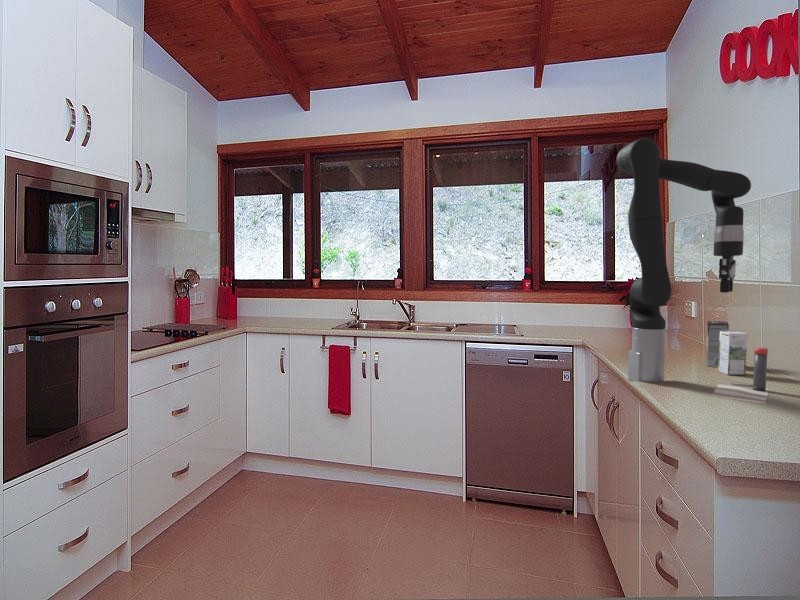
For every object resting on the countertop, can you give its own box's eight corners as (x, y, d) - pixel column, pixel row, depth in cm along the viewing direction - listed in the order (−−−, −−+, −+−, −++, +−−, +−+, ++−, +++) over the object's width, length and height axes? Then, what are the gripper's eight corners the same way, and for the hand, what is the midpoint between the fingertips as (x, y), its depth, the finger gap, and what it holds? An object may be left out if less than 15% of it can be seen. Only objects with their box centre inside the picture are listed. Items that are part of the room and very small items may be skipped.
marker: (759, 391, 127) (760, 349, 127) (749, 388, 130) (751, 347, 130) (768, 391, 128) (770, 349, 127) (759, 388, 131) (761, 347, 130)
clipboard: (771, 409, 114) (771, 403, 114) (705, 399, 123) (705, 394, 123) (774, 391, 131) (774, 386, 131) (715, 384, 140) (715, 379, 140)
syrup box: (734, 371, 157) (736, 330, 156) (746, 375, 151) (747, 332, 150) (717, 371, 158) (719, 330, 157) (727, 375, 152) (729, 332, 151)
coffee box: (705, 362, 174) (706, 320, 173) (725, 363, 171) (727, 321, 170) (706, 366, 166) (708, 323, 165) (728, 368, 163) (729, 324, 162)
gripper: (740, 238, 134) (738, 293, 135) (745, 241, 145) (743, 291, 146) (710, 240, 139) (708, 292, 140) (717, 242, 150) (715, 291, 151)
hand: (726, 292), depth 143 cm, fingers open, 8 cm apart
